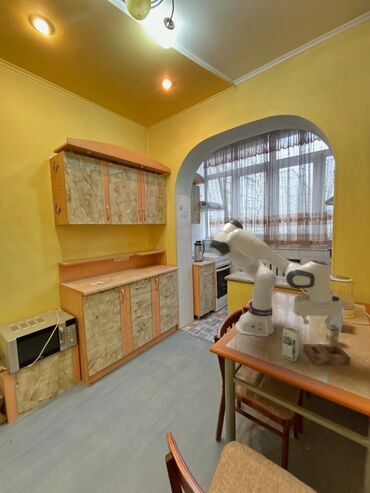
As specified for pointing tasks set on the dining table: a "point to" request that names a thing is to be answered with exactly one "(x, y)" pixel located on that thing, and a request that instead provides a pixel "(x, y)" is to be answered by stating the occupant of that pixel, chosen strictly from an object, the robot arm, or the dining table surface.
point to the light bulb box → (337, 321)
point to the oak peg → (332, 334)
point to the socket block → (326, 354)
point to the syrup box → (290, 343)
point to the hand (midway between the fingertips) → (316, 323)
